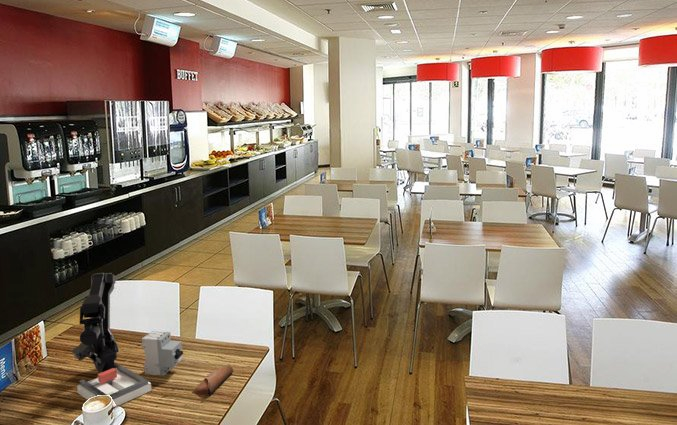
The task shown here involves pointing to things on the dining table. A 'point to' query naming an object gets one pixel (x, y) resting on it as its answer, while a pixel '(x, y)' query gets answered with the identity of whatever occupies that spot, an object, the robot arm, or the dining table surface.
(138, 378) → the grey frame
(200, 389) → the sunglasses case
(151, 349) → the circuit breaker
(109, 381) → the lever
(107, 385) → the switch panel
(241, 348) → the dining table surface
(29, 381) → the dining table surface
